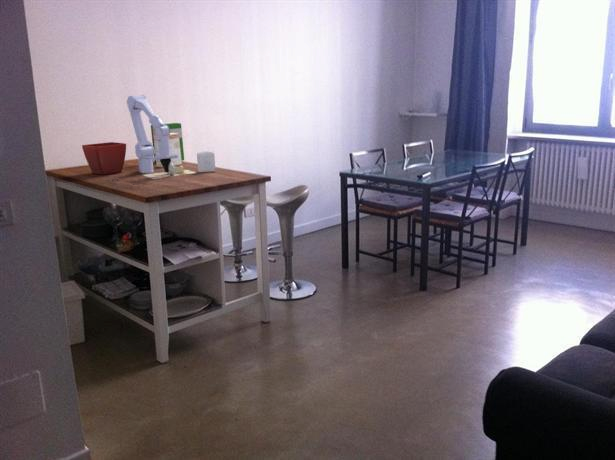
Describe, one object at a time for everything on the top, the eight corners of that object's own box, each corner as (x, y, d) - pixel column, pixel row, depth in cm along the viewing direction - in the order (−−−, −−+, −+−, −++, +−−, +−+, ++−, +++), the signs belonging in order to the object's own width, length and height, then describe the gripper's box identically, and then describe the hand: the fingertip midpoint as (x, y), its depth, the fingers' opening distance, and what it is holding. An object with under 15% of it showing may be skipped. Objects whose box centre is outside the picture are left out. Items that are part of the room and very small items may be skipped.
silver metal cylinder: (168, 175, 332) (167, 164, 331) (173, 174, 334) (172, 164, 332) (170, 176, 330) (169, 165, 328) (175, 175, 331) (174, 164, 330)
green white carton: (158, 163, 385) (155, 125, 379) (154, 162, 391) (150, 125, 385) (184, 160, 395) (181, 123, 389) (179, 159, 401) (176, 122, 395)
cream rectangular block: (167, 173, 340) (166, 166, 339) (180, 171, 344) (180, 164, 343) (170, 174, 336) (169, 167, 335) (184, 172, 340) (183, 165, 339)
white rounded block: (213, 170, 348) (211, 149, 345) (216, 171, 345) (215, 149, 342) (197, 172, 343) (195, 151, 339) (200, 173, 339) (198, 151, 336)
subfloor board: (141, 176, 338) (141, 174, 338) (185, 170, 352) (185, 169, 351) (153, 180, 323) (152, 178, 323) (197, 174, 337) (197, 172, 337)
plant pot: (114, 169, 369) (111, 141, 364) (130, 172, 355) (127, 143, 351) (84, 173, 356) (81, 145, 351) (99, 176, 342) (95, 147, 338)
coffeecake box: (174, 163, 383) (171, 132, 378) (182, 164, 379) (179, 132, 374) (156, 167, 371) (152, 135, 366) (163, 167, 367) (160, 135, 362)
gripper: (154, 149, 326) (156, 174, 330) (179, 147, 334) (181, 171, 338) (149, 148, 332) (152, 173, 336) (174, 146, 340) (176, 170, 343)
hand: (166, 172), depth 337 cm, fingers closed
